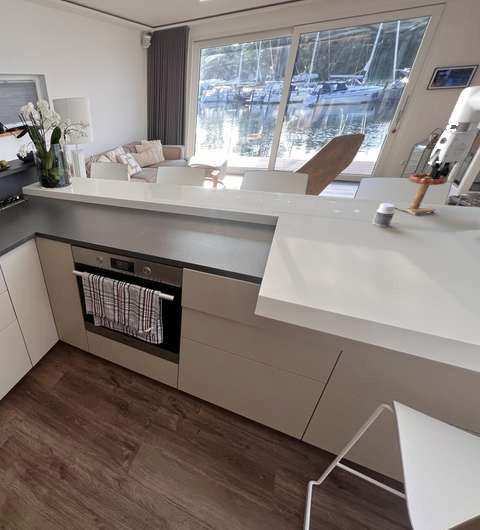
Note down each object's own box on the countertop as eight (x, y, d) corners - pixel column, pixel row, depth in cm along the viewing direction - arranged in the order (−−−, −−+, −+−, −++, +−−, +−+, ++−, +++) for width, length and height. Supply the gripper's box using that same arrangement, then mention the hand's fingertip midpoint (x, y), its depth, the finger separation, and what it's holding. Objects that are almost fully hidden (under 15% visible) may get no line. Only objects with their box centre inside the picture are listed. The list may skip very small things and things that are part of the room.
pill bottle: (388, 230, 102) (398, 207, 98) (372, 228, 105) (380, 206, 100) (387, 225, 106) (396, 203, 102) (370, 223, 108) (378, 202, 104)
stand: (434, 212, 112) (451, 178, 105) (414, 215, 111) (430, 181, 104) (412, 205, 119) (426, 173, 112) (393, 208, 118) (406, 176, 112)
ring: (454, 183, 105) (456, 177, 104) (428, 187, 104) (431, 181, 103) (424, 176, 114) (426, 171, 113) (400, 180, 113) (402, 175, 112)
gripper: (452, 130, 96) (427, 185, 106) (494, 125, 97) (466, 180, 107) (429, 128, 103) (407, 180, 112) (468, 124, 104) (443, 175, 113)
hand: (436, 179), depth 109 cm, fingers closed on ring, 2 cm apart
